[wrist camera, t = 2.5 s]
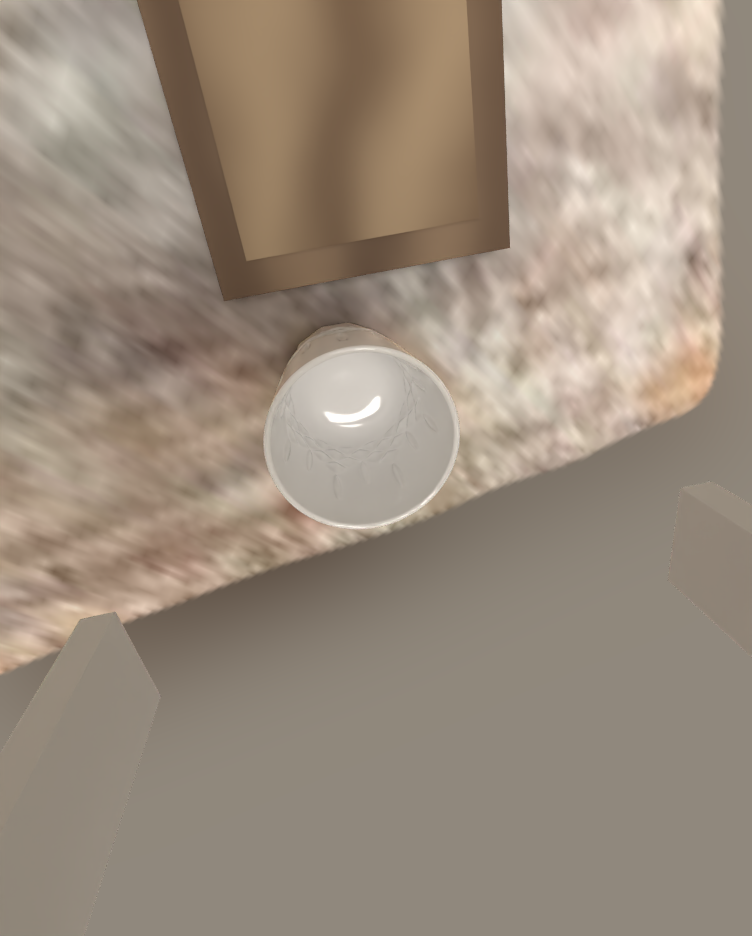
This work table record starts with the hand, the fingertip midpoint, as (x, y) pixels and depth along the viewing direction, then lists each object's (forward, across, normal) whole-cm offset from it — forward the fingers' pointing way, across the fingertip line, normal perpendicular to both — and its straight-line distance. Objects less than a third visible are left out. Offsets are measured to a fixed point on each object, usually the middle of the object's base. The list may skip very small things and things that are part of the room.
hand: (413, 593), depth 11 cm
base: (+19, +2, +13) cm, 23 cm away
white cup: (+19, 0, 0) cm, 19 cm away
